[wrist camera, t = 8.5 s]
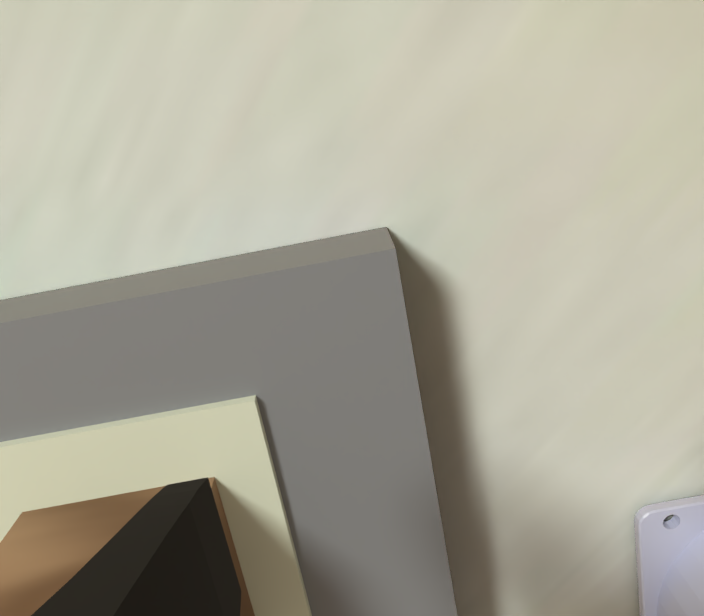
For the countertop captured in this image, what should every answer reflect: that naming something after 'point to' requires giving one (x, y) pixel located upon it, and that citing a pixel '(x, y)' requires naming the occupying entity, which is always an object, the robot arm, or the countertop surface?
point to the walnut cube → (74, 547)
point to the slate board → (242, 416)
